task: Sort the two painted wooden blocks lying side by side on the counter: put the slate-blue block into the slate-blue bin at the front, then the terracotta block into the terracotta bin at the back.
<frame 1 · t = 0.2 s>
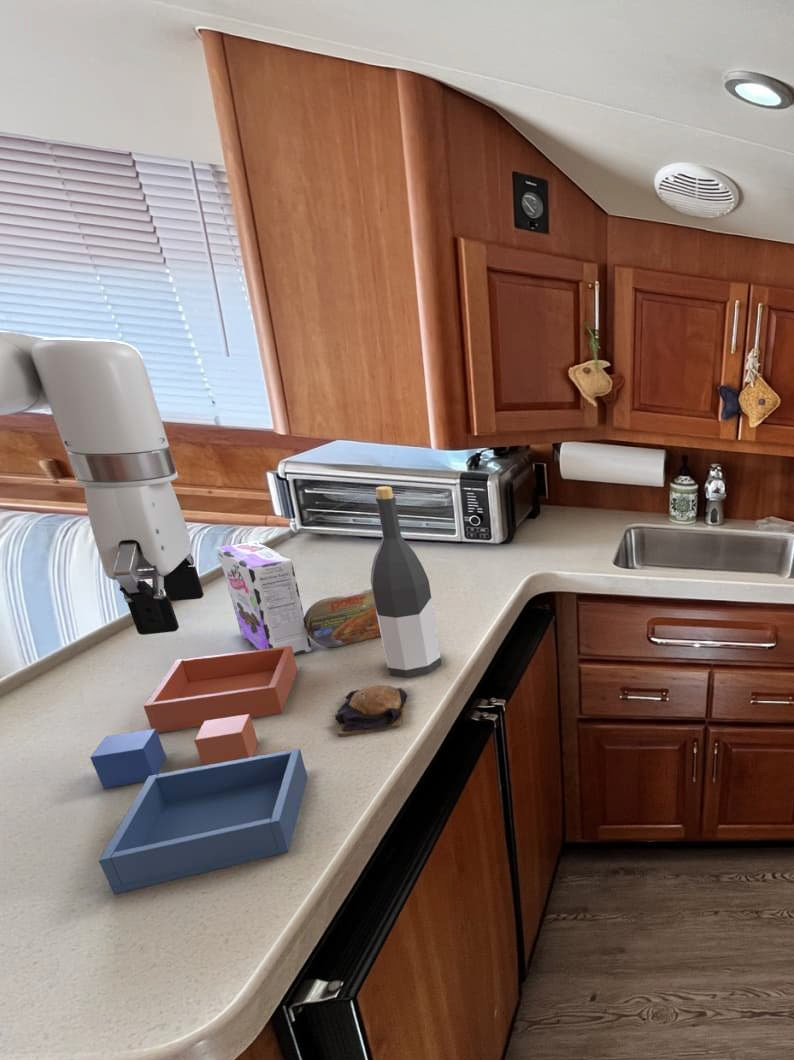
hand: (173, 614, 73), 20 cm above the table, tool pointing down, fingers open, 9 cm apart
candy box: (277, 644, 108), on the table, touching tin
blue bin: (222, 828, 70), on the table
wine bottle: (415, 667, 105), on the table
terracotta block: (232, 756, 81), on the table
terracotta bin: (232, 698, 92), on the table
tin: (361, 638, 112), on the table, touching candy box
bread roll: (374, 713, 92), on the table
blue block: (136, 773, 77), on the table
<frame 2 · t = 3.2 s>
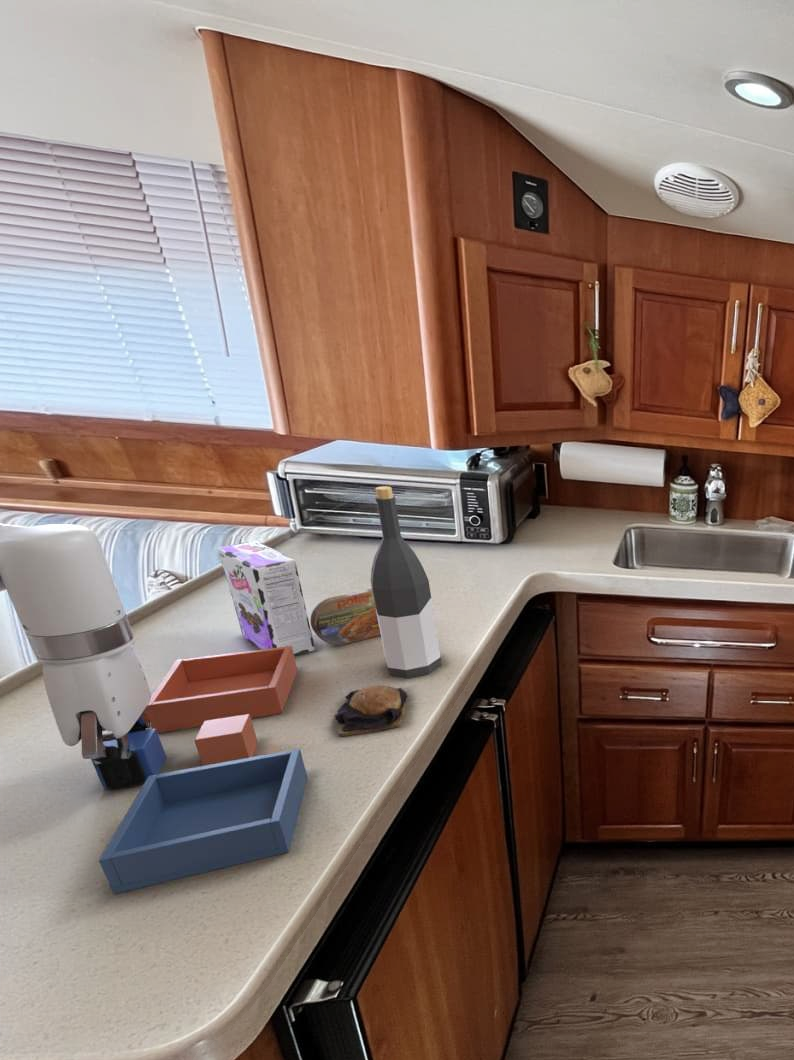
hand: (135, 770, 77), 0 cm above the table, tool pointing down, fingers closed on blue block, 4 cm apart
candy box: (279, 644, 108), on the table
tin: (367, 636, 113), on the table
blue block: (136, 773, 77), on the table, touching gripper
everything else where it was.
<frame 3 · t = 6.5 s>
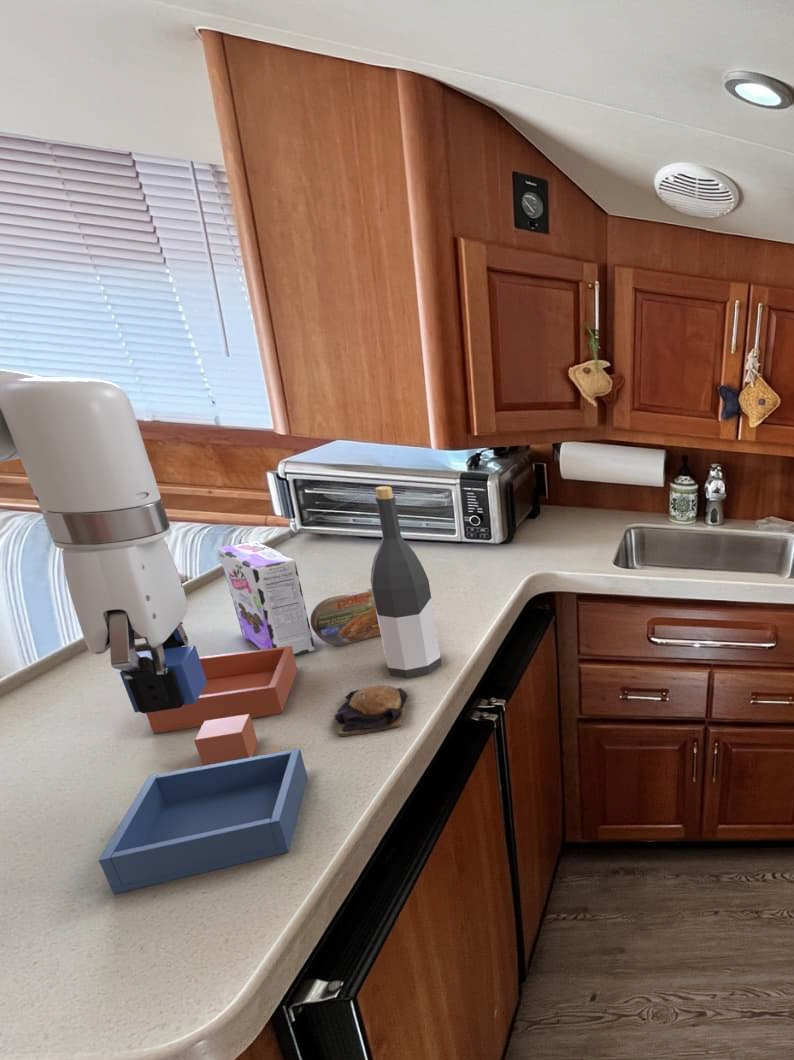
hand: (171, 694, 64), 17 cm above the table, tool pointing down, fingers closed on blue block, 4 cm apart
blue block: (172, 697, 64), point 16 cm above the table, touching gripper
everything else where it was.
when the fingers open (3 cm above the table, at t = 9.7 s): blue block drops 2 cm, resting on blue bin.
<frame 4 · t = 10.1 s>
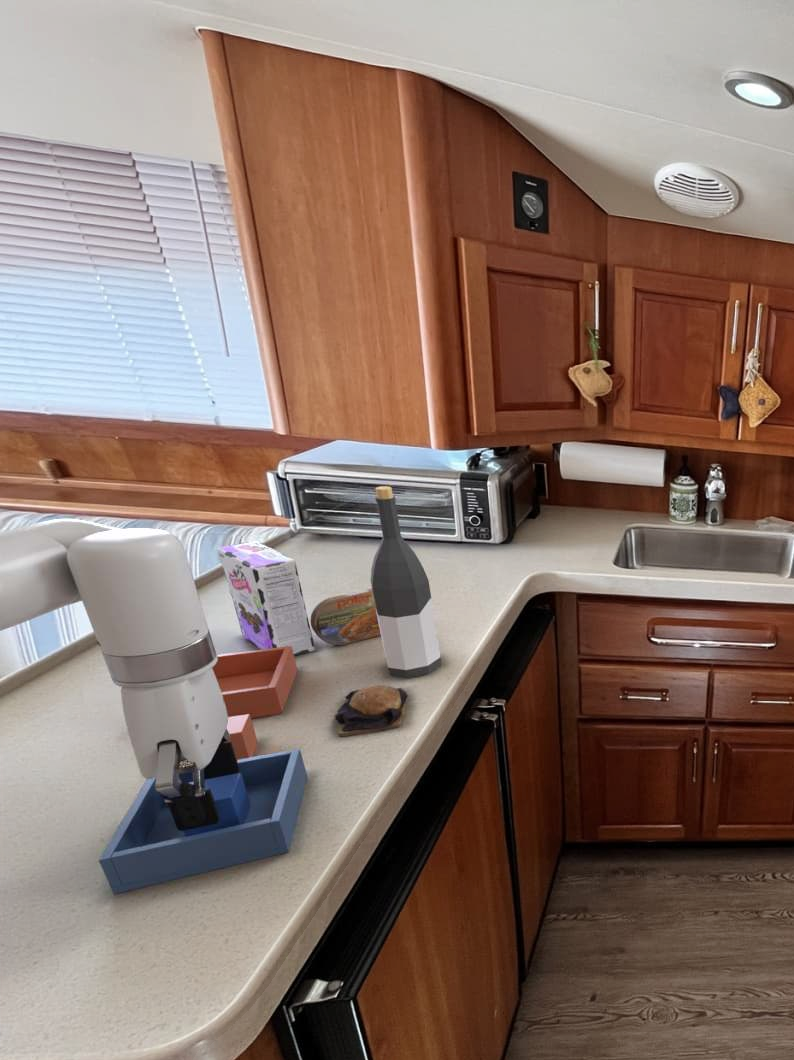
hand: (211, 798, 68), 4 cm above the table, tool pointing down, fingers open, 8 cm apart
blue block: (220, 822, 70), point 1 cm above the table, touching blue bin
everything else where it was.
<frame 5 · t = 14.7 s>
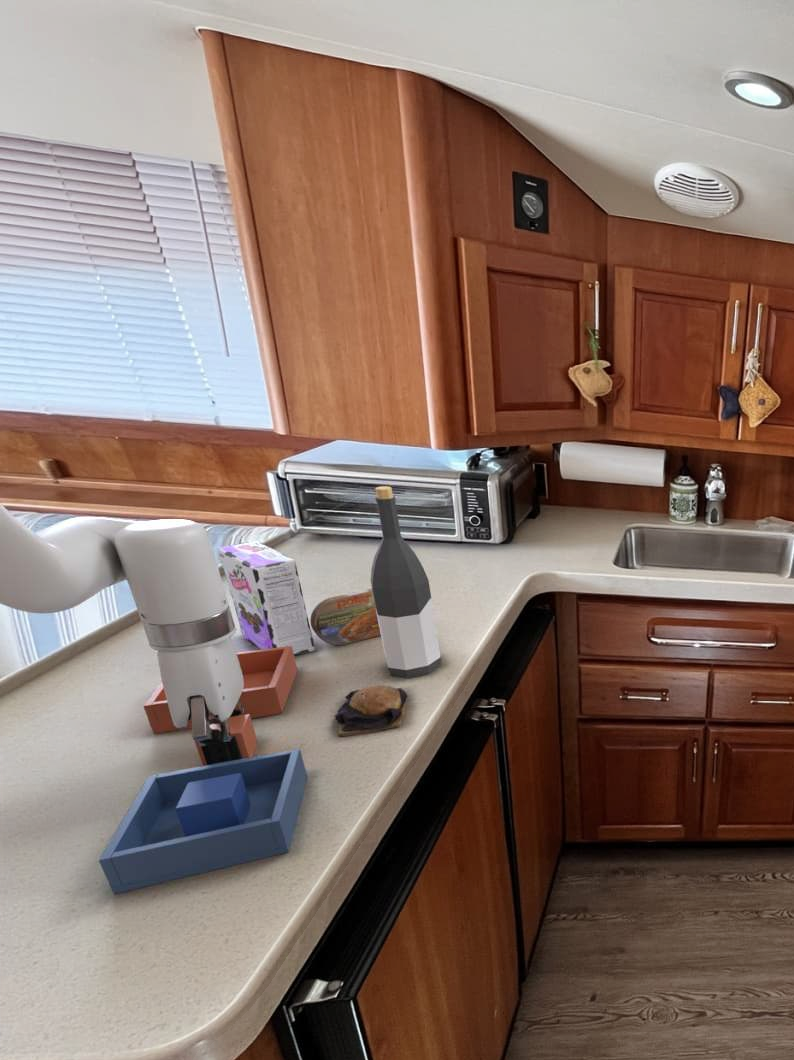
hand: (231, 753, 81), 0 cm above the table, tool pointing down, fingers closed on terracotta block, 4 cm apart
terracotta block: (232, 756, 81), on the table, touching gripper
everything else where it was.
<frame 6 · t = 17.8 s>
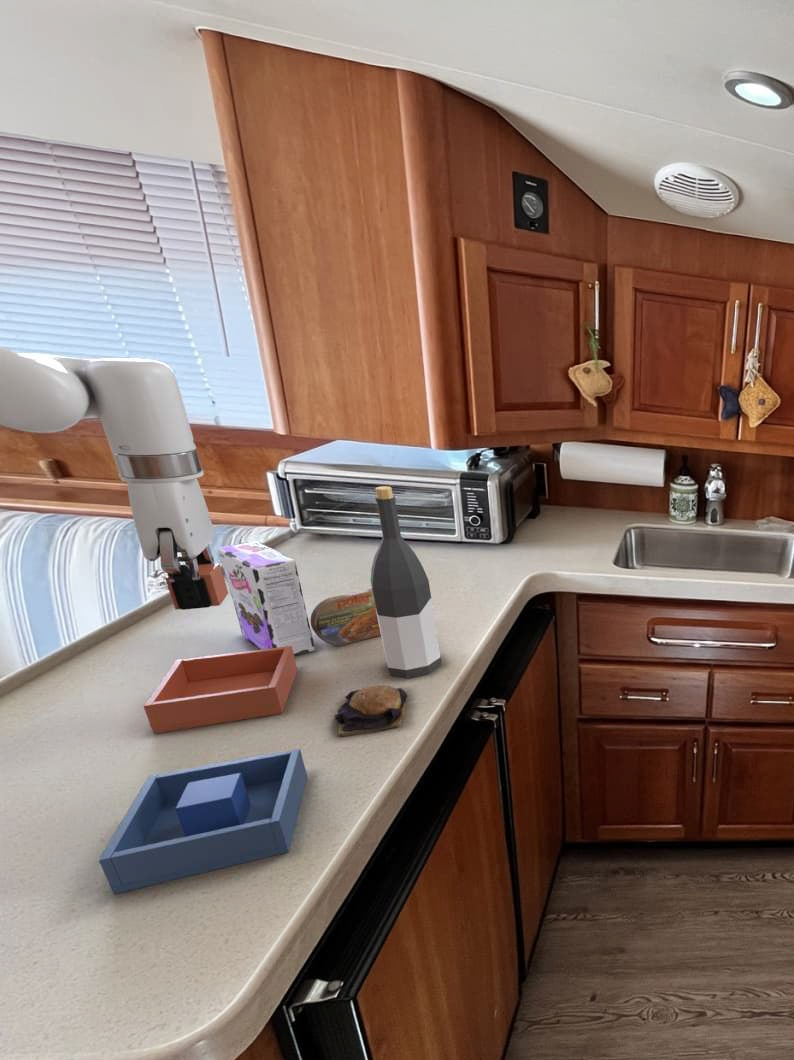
hand: (201, 598, 85), 16 cm above the table, tool pointing down, fingers closed on terracotta block, 4 cm apart
terracotta block: (202, 601, 86), point 16 cm above the table, touching gripper
everything else where it was.
when the fingers open (3 cm above the table, at t = 21.0 s): terracotta block drops 2 cm, resting on terracotta bin.
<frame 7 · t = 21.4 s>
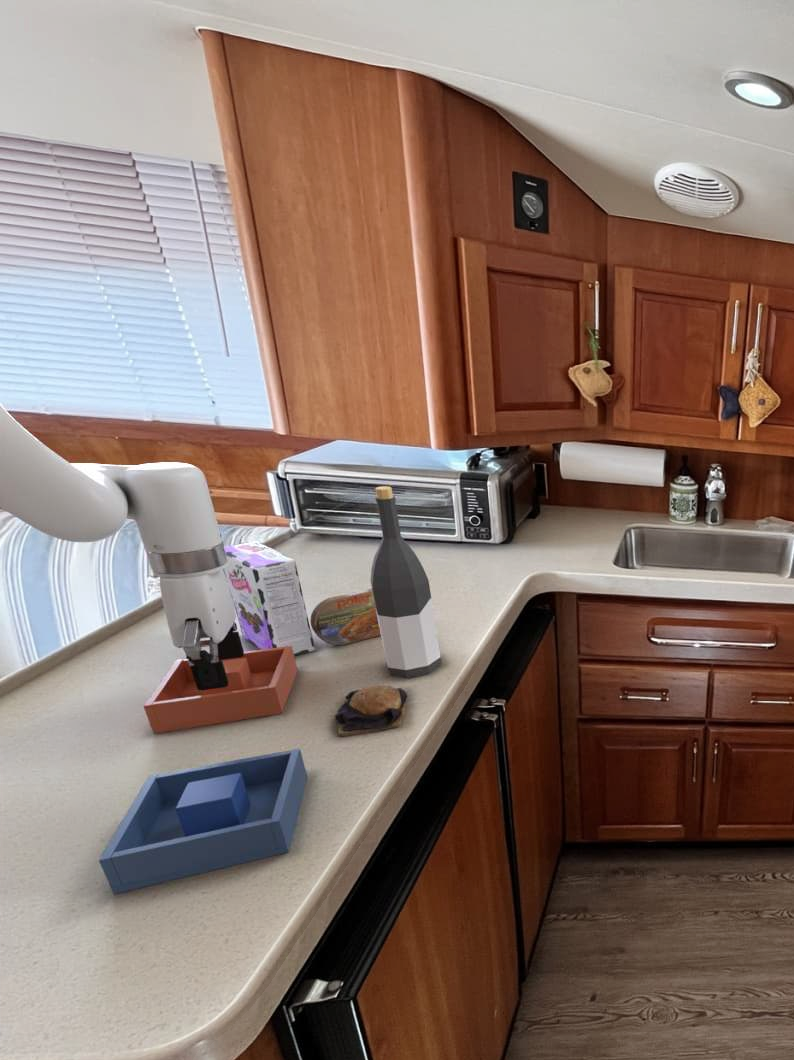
hand: (222, 671, 91), 5 cm above the table, tool pointing down, fingers open, 8 cm apart
terracotta block: (230, 694, 92), point 1 cm above the table, touching terracotta bin
everything else where it was.
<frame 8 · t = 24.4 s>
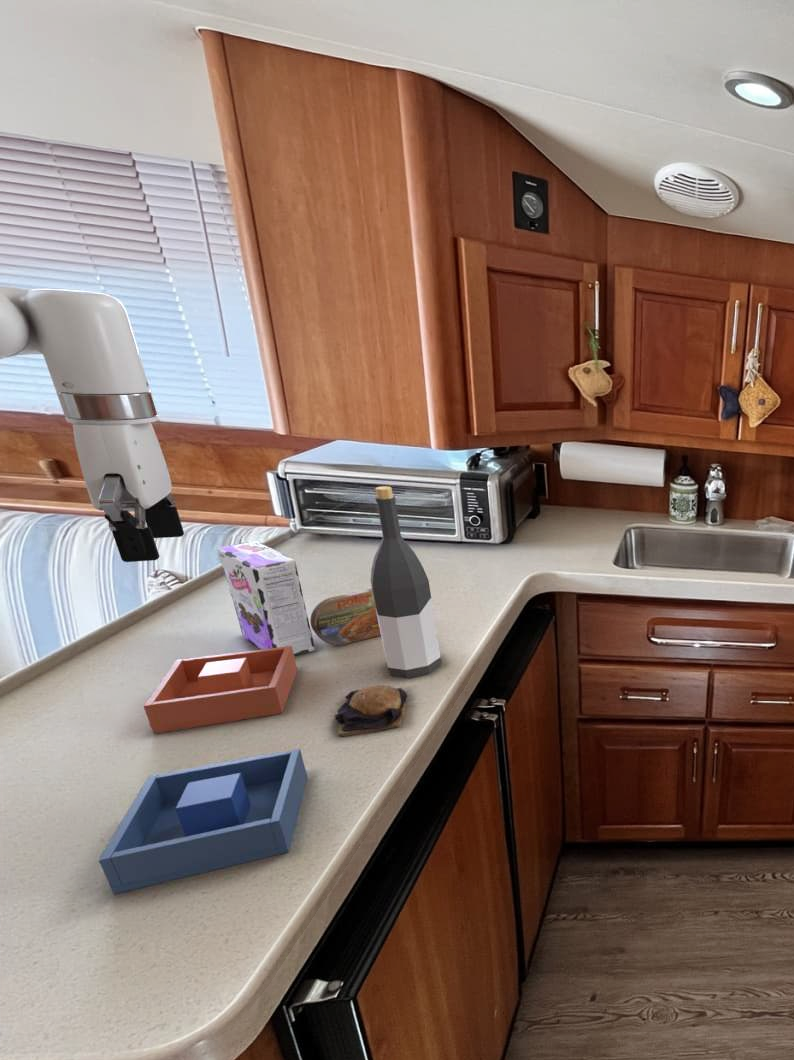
hand: (155, 548, 80), 24 cm above the table, tool pointing down, fingers open, 9 cm apart
nothing on the table moved.
at the end: blue block inside the target area in the blue bin (0.0 cm from its centre), point 0.8 cm above the blue bin's base; terracotta block inside the target area in the terracotta bin (0.0 cm from its centre), point 0.8 cm above the terracotta bin's base; the gripper is holding nothing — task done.
